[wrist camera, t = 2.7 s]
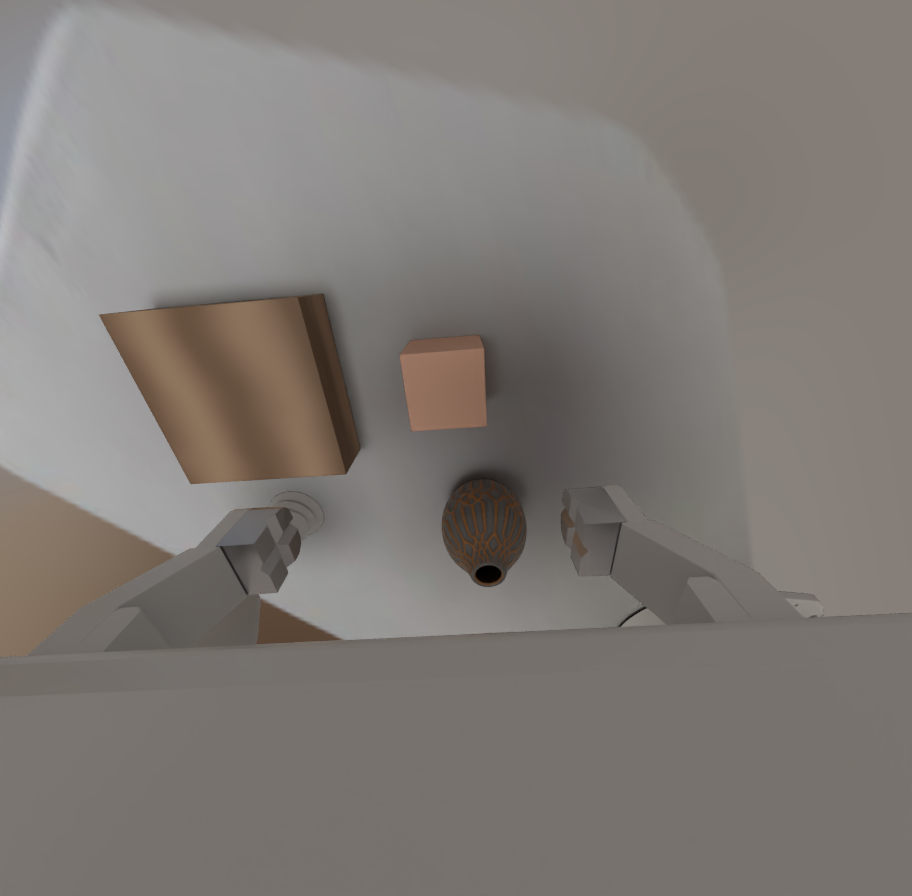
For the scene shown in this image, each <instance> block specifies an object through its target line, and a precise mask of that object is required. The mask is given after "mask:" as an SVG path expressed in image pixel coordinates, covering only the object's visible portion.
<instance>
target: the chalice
mask: <svg viewBox="0 0 912 896" xmlns="http://www.w3.org/2000/svg"><path fill="white" fill-rule="evenodd" d="M270 507H286V508H288V509H289V510H290V512H291V514H292V516H293V519H292V521H291V525H293V526H294V527H295V528H297V529H298V531H299V534H300V538H301V540H302V539H304V538H305V537H306V536H308V535H310V534H311V533H312V532H314V531H317V530H318V529H319V528H320V527H321V526H322V523H323V521H324V514H323V511H322V509H321V507H320V506H319V505H318V503H317V502H316V501H315V500H313V499H312V498H310V497H309V496H307V495H304V494H302V493H298V492H283V493H281V494H279V495H277V496H275V497H274V498H273V500H272V501H271V504H270ZM259 614H260V596H259V595H258V594H254V595H247V597H246V598H245V599H244V600H243V601H242V602H241V603H240V604H238V605H237V606H236V607H235V608H234V609H233V610H232V611H230V612H229V613H228V614H227V615H226V616H225V617H224V618H222V619H221V620H220V621H219V622H218V623H217V624H216V625H214V626H213V627H212V628H211V629H210V630H209V631H208V632H206V633H205V634H204V635H203V636H202V637H201V638H200V639H198V640H197V641H196V642H195V643H194V644H193V645H192V646H190V647H189V648H196V647H216V646H237V645H256V641H257V637H258V628H259Z"/></svg>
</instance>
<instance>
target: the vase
mask: <svg viewBox="0 0 912 896" xmlns="http://www.w3.org/2000/svg"><path fill="white" fill-rule="evenodd" d="M526 532H527V527H526V519H525V515H524V512H523V509H522V507H521V504H520V502H519V501H518V499H517V498H516V496H515V495H514V494H513V493H512V492H511V491H510V490H509V489H508V488H507V487H505V486H504V485H502V484H500V483H498V482H496V481H493V480H487V479H479V480H473V481H470V482H467V483H465V484H463V485H461V486H460V487H459V488H458V489H456V490H455V491H454V493H453V494H452V495H451V496H450V498H449V500H448V501H447V503H446V506H445V508H444V512H443V517H442V536H443V540H444V543H445V546H446V549H447V551H448V553H449V555H450V556H451V558H452V559H453V560H454V562H455V563H456V564H457V565H458V566H460V567H461V568H462V569H463V570H465V571H466V572H467V573H469V575H470V576H471V578H472V580H473V581H474V582H475V583H476V584H478V585H480V586H483V587H492V586H496V585H498V584H500V583H501V582H502V581H503V580H504V579H505V577H506V574H507V571H508V570H509V569H510V568H511V567H512V566H513V565H514V563H515V562H516V561H517V560H518V558H519V557H520V555H521V553H522V551H523V548H524V545H525V541H526Z"/></svg>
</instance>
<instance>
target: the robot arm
mask: <svg viewBox="0 0 912 896" xmlns="http://www.w3.org/2000/svg"><path fill="white" fill-rule="evenodd" d="M562 501H563V503H564V506H565V509H564V511H563V512H562V513H561V531H562V535H563V539H564V542H565V544H566V546H568V547H569V548H571V549H572V550H571V559H572V562H573V564H574V566H575V569H576V571H577V574H578V576H607V575H611V578H613V579H614V580H615V581H616V582H617V583H618V584H620V585H621V586H622V587H623V588H624V589H625V590H627V591H628V592H629V593H630V594H631V595H632V596H634V597H635V598H636V599H637V600H638V601H639V602H641V603H642V604H643V605H644V606H645V607H647V609H644V610H643V611H641V612H639V613H637V614H636V615H634V616H633V617H631V618H630V619H629V620H627V621H626V622H625V623H624V624H623V625H622V626H621V627H608V628H587V629H567V630H546V631H525V632H505V633H484V634H463V635H443V636H422V637H401V638H380V639H360V640H339V641H320V642H298V643H278V644H258V645H237V646H216V647H196V648H189V647H190V646H192V645H193V644H194V643H195V642H196V641H197V640H198V639H200V638H201V637H202V636H203V635H204V634H205V633H206V632H208V631H209V630H210V629H211V628H212V627H213V626H214V625H216V624H217V623H218V622H219V621H220V620H221V619H222V618H224V617H225V616H226V615H227V614H228V613H229V612H230V611H232V610H233V609H234V608H235V607H236V606H237V605H238V604H240V603H241V602H242V601H243V600H244V599H245V598H246V597H247V595H254V594H266V593H277V592H278V591H279V589H280V587H281V585H282V584H283V582H284V580H285V578H286V576H287V575H288V570H287V567H288V566H289V565H290V564H292V563H293V562H294V561H295V560H296V558H297V556H298V554H299V552H300V547H301V538H300V534H299V531H298V529H297V528H295V527H294V526H293V525H291V521H292V519H293V516H292V514H291V512H290V510H289V509H288V508H286V507H267V508H252V509H251V508H247V509H236V510H233V511H230V512H229V513H228V515H227V516H226V517H225V518H224V519H223V520H222V521H221V522H220V523H219V524H218V525H217V526H216V527H215V528H214V529H213V530H212V531H211V532H210V533H209V534H208V535H207V537H206V538H205V539H204V540H203V541H202V542H201V543H200V544H199V545H198V546H197V547H196V548H192V549H188V550H186V551H185V552H183V553H181V554H179V555H177V556H175V557H173V558H172V559H170V560H168V561H166V562H164V563H163V564H161V565H159V566H157V567H155V568H153V569H151V570H150V571H148V572H146V573H144V574H142V575H140V576H138V577H137V578H135V579H133V580H131V581H129V582H127V583H126V584H124V585H122V586H120V587H118V588H116V589H115V590H113V591H111V592H109V593H107V594H105V595H103V596H102V597H100V598H98V599H96V600H94V601H92V602H90V603H89V604H87V605H85V606H83V607H81V608H80V609H79V610H77V611H76V612H75V613H74V614H73V615H72V616H71V617H69V618H68V619H67V620H66V621H65V622H64V623H63V624H62V625H61V626H59V627H58V628H57V629H56V630H55V631H54V632H53V633H52V634H50V635H49V636H48V637H47V638H46V639H45V640H44V641H43V642H41V643H40V644H39V645H38V646H37V647H36V648H35V649H34V650H32V651H31V652H30V653H29V654H28V655H27V656H10V657H0V896H912V613H899V614H879V615H858V616H836V617H823V616H824V610H823V606H822V604H821V602H820V601H819V600H818V599H817V598H816V597H815V596H814V595H811V594H804V593H794V592H793V593H792V592H781V591H776V589H775V588H773V586H772V585H771V584H769V582H768V581H766V579H765V578H764V577H762V576H761V574H760V573H758V572H756V571H754V570H752V569H750V568H748V567H746V566H744V565H742V564H740V563H738V562H736V561H734V560H732V559H730V558H728V557H726V556H724V555H722V554H720V553H718V552H716V551H714V550H712V549H710V548H708V547H706V546H704V545H702V544H700V543H698V542H696V541H694V540H692V539H690V538H688V537H686V536H684V535H682V534H680V533H678V532H676V531H674V530H672V529H670V528H668V527H666V526H664V525H662V524H660V523H658V522H656V521H648V520H647V518H646V517H645V516H644V515H643V513H642V512H641V511H640V509H639V508H638V507H637V506H636V504H635V503H634V502H633V501H632V499H631V498H630V497H629V496H628V494H627V493H626V492H625V490H624V489H623V488H622V487H621V486H620V485H607V486H600V487H589V488H575V489H565V490H564V492H563V499H562Z"/></svg>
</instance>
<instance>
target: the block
mask: <svg viewBox="0 0 912 896" xmlns="http://www.w3.org/2000/svg"><path fill="white" fill-rule="evenodd" d="M400 361H401V368H402V374H403V380H404V387H405V393H406V400H407V406H408V413H409V419H410V425H411V431H425V430H439V429H454V428H468V427H483V426H487V416H486V390H485V364H484V347H483V344H482V341H481V339H480V336H479V335H472V336H459V337H447V338H434V339H422V340H410V342H409V343H408V344H407V346H406V347H405V348H404V350H403V351H402V352H401V354H400Z"/></svg>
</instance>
